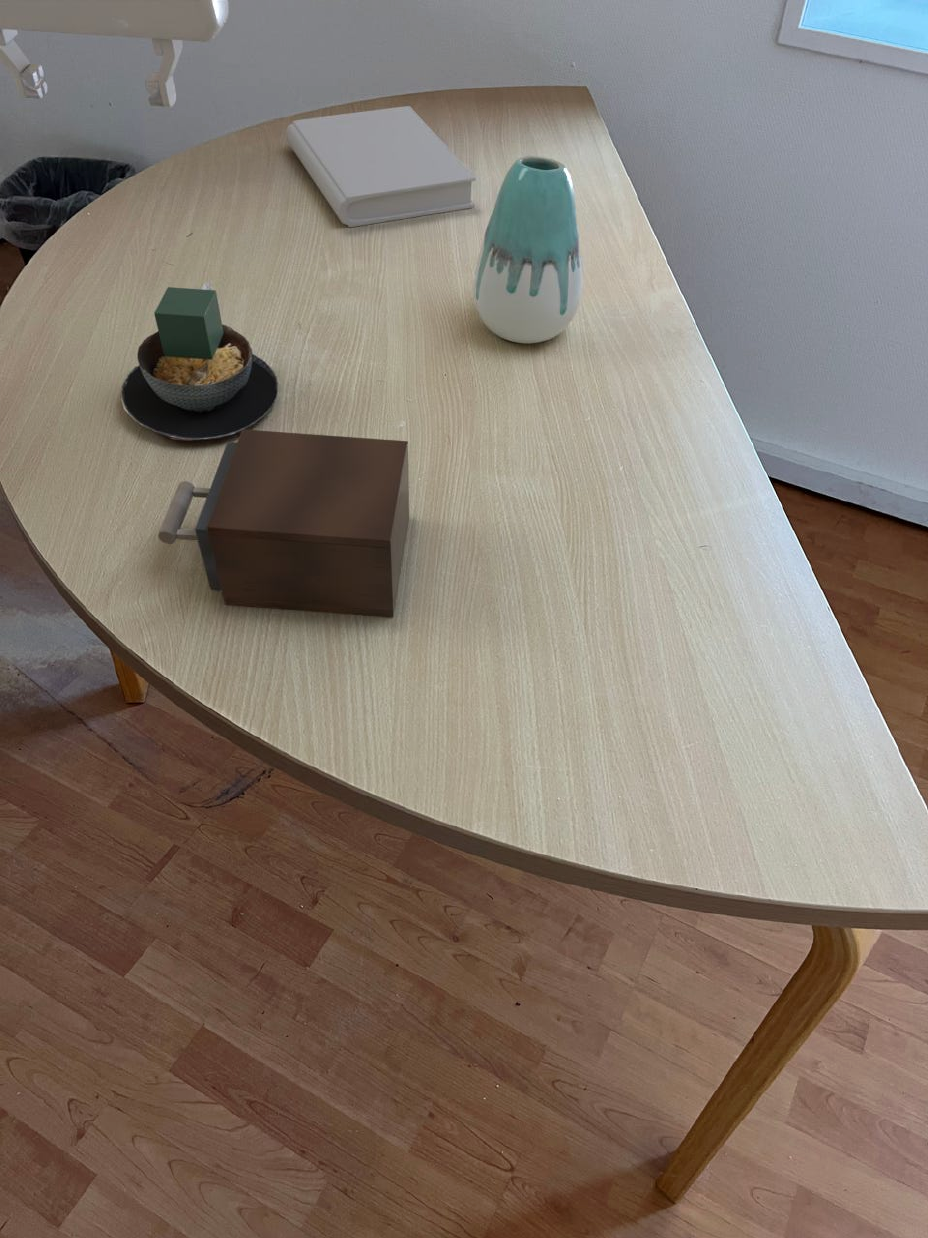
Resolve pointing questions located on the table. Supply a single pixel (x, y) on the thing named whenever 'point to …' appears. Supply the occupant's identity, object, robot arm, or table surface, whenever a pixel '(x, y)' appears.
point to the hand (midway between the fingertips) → (99, 99)
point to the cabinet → (312, 523)
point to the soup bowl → (199, 389)
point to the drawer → (180, 507)
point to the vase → (530, 254)
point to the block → (189, 323)
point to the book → (380, 165)
